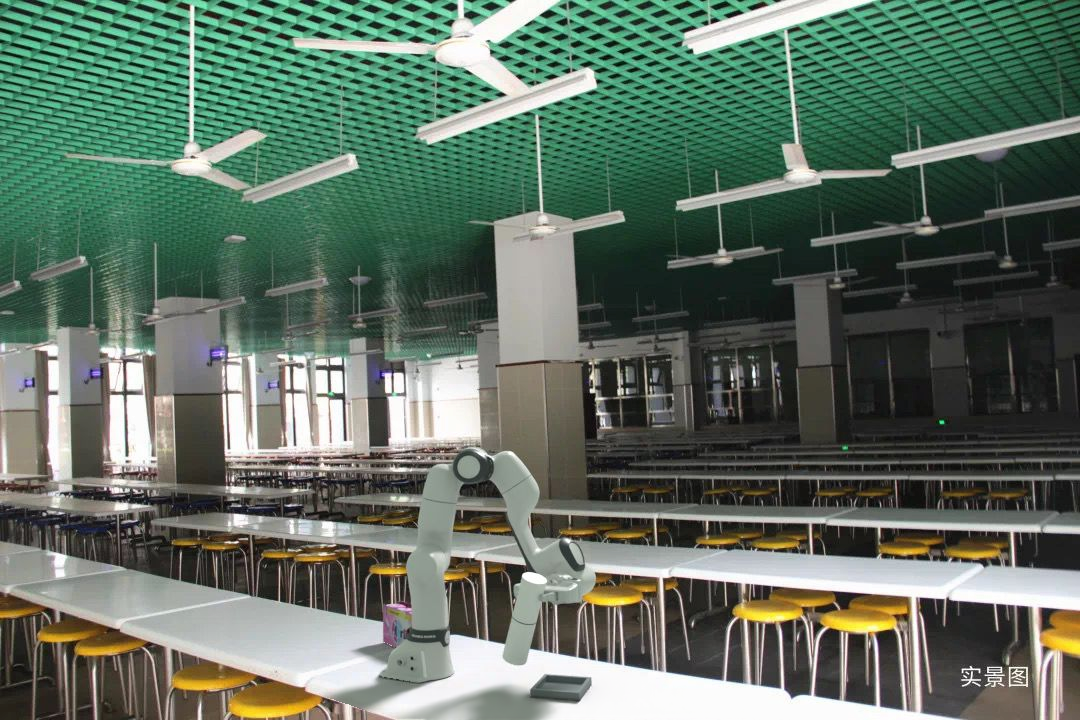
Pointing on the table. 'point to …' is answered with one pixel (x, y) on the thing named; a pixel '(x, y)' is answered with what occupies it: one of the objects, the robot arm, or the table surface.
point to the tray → (561, 687)
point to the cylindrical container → (524, 618)
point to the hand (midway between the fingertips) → (529, 597)
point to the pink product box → (396, 622)
